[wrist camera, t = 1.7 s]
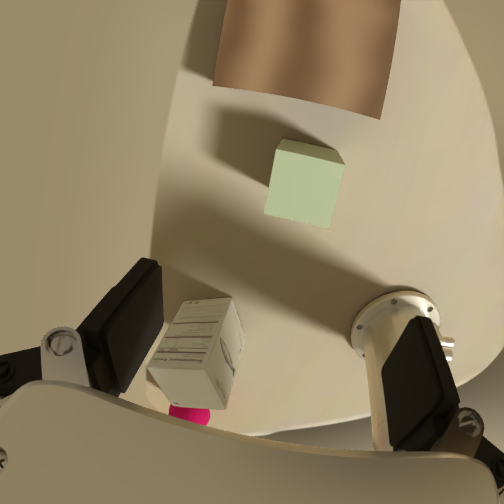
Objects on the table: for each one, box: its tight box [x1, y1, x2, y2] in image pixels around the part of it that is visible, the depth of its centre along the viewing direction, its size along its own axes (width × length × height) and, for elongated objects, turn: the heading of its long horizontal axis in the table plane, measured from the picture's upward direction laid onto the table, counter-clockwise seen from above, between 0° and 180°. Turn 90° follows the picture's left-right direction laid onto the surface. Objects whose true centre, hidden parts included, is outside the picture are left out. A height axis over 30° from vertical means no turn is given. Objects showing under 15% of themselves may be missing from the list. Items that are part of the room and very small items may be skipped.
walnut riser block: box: [212, 0, 401, 120], centre depth 21 cm, size 14×14×5 cm
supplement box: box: [147, 297, 246, 410], centre depth 36 cm, size 7×7×13 cm
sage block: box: [264, 138, 346, 228], centre depth 27 cm, size 6×6×7 cm
